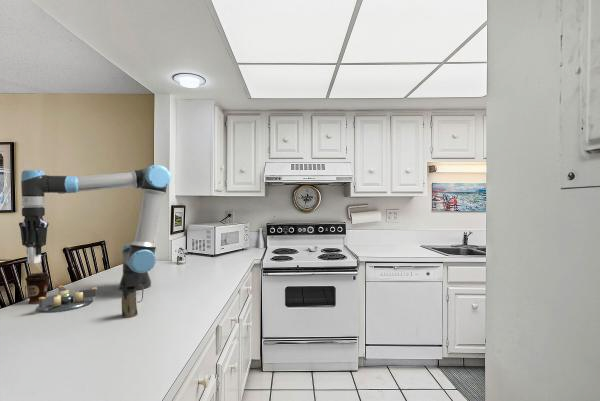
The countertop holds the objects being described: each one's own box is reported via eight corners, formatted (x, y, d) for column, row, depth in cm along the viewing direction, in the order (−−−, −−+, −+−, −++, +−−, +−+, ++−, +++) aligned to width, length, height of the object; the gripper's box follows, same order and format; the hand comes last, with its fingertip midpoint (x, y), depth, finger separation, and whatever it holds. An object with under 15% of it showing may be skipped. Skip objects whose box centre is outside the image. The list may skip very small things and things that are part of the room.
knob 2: (69, 299, 149) (69, 287, 149) (60, 301, 146) (59, 289, 146) (65, 295, 155) (65, 284, 154) (56, 297, 152) (55, 286, 152)
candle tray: (98, 296, 158) (98, 285, 158) (84, 309, 139) (84, 297, 139) (50, 300, 152) (50, 289, 152) (28, 314, 133) (28, 302, 133)
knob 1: (56, 303, 143) (56, 291, 143) (63, 304, 142) (63, 292, 142) (37, 310, 134) (36, 297, 134) (44, 310, 134) (43, 298, 134)
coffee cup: (35, 305, 144) (34, 276, 144) (20, 304, 146) (19, 275, 146) (53, 299, 153) (53, 272, 153) (39, 298, 154) (39, 271, 154)
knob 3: (73, 302, 144) (73, 290, 144) (76, 299, 148) (76, 288, 148) (95, 300, 147) (94, 288, 147) (97, 298, 150) (97, 286, 150)
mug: (119, 318, 128) (119, 288, 128) (124, 313, 133) (123, 284, 133) (141, 316, 130) (141, 286, 129) (145, 311, 135) (144, 283, 135)
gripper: (9, 207, 135) (10, 263, 136) (38, 207, 132) (39, 265, 132) (28, 206, 143) (29, 260, 143) (56, 206, 139) (57, 261, 139)
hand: (34, 262), depth 137 cm, fingers open, 2 cm apart
